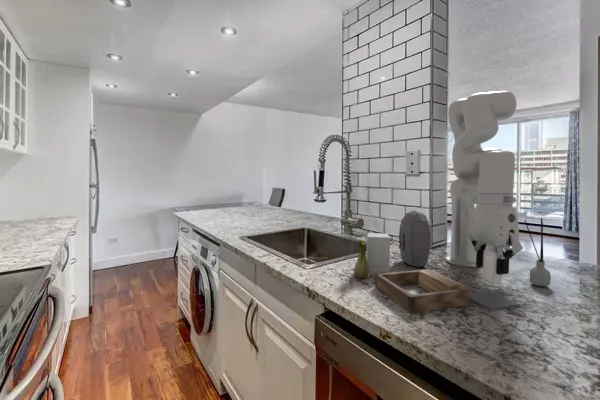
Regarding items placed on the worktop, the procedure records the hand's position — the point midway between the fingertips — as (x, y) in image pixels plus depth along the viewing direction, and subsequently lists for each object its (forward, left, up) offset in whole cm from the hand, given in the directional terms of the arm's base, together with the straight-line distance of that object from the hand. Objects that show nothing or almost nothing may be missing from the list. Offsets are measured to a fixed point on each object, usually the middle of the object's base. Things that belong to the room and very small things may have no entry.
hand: (491, 269), depth 78 cm
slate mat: (0, 0, -8) cm, 8 cm away
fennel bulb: (+24, -26, -9) cm, 37 cm away
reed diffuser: (-23, -6, -9) cm, 25 cm away
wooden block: (+9, -8, -8) cm, 15 cm away
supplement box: (+16, -30, -9) cm, 35 cm away
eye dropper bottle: (0, 0, -3) cm, 3 cm away
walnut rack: (+15, -8, -8) cm, 19 cm away
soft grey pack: (0, -34, -9) cm, 35 cm away
